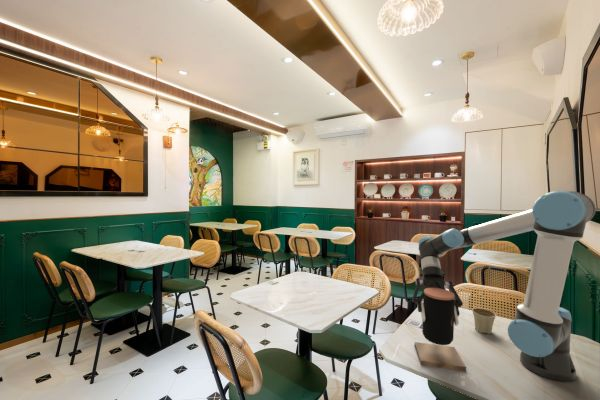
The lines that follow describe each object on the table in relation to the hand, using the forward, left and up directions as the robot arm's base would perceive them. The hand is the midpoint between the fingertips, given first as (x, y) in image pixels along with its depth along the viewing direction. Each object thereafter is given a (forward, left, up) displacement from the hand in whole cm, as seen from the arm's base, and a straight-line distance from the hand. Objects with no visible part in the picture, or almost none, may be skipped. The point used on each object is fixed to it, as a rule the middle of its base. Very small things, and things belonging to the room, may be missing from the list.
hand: (440, 322), depth 102 cm
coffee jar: (0, -3, -8) cm, 8 cm away
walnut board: (0, -2, -15) cm, 15 cm away
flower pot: (-26, -30, -15) cm, 43 cm away
